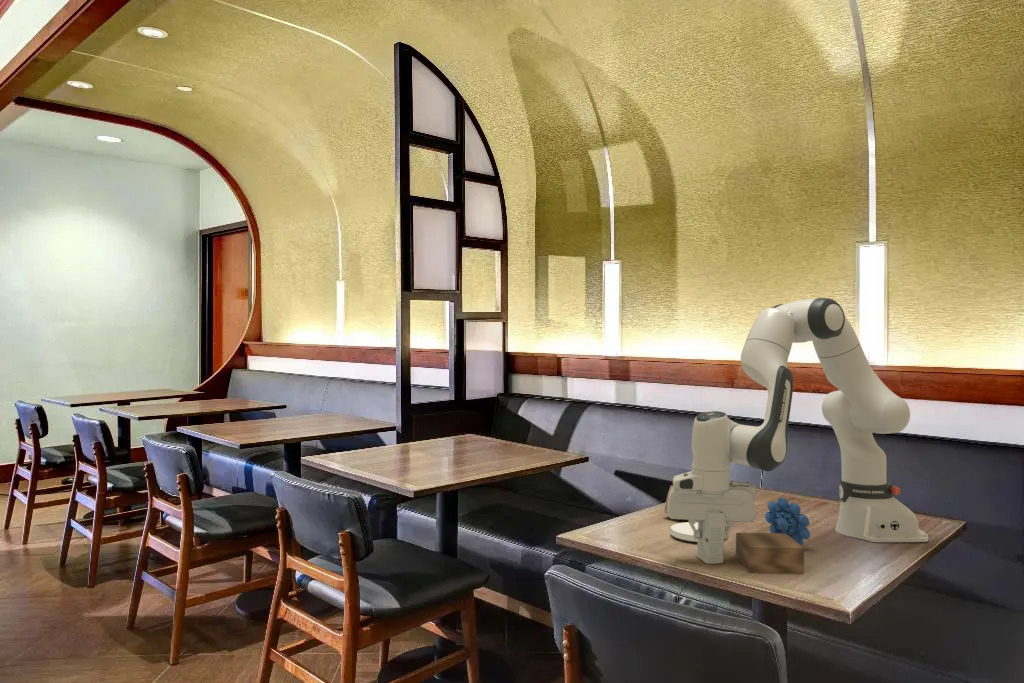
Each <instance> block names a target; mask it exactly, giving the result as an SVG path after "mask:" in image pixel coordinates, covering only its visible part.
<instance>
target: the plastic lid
mask: <svg viewBox="0 0 1024 683" xmlns="http://www.w3.org/2000/svg"><path fill="white" fill-rule="evenodd" d="M693 525H694V526H695V528H696V530H698V523H697V522H695V524H693ZM724 531H725V530H724ZM670 535H671V536H672V537H674V538H676V539H679V540H683V541H688V542H696V543H698V539H697V538H696V539H695V538H694V536H693V530H692V528H691V526H690V524H689V521H687V522H678V523H674V524H672V525H671V526H670Z"/></svg>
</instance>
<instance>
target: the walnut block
mask: <svg viewBox="0 0 1024 683" xmlns="http://www.w3.org/2000/svg"><path fill="white" fill-rule="evenodd" d="M735 556H736V558H737V559H738V561H739V562H740V563H741V564H742V565H743V567H744V568H745V569H746V570H747V572H749V573H751V574H752V573H758V574H759V573H763V574H805V568H804V567H805V547H804V546H803V545H802V546H801V545H800V544H799V543H797V542H796V541H795V540H794V539H793V538H791V537H790V536H789V535H788V534H787V533H771V532H735Z"/></svg>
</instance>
